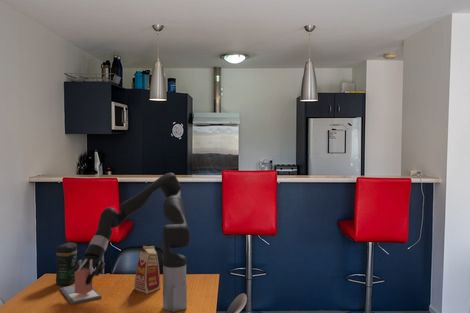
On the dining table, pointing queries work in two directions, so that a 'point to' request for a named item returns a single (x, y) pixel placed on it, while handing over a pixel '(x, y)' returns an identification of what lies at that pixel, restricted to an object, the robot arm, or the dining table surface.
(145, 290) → the milk carton
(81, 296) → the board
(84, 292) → the pink rectangular block
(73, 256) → the coffee jar
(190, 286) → the dining table surface
